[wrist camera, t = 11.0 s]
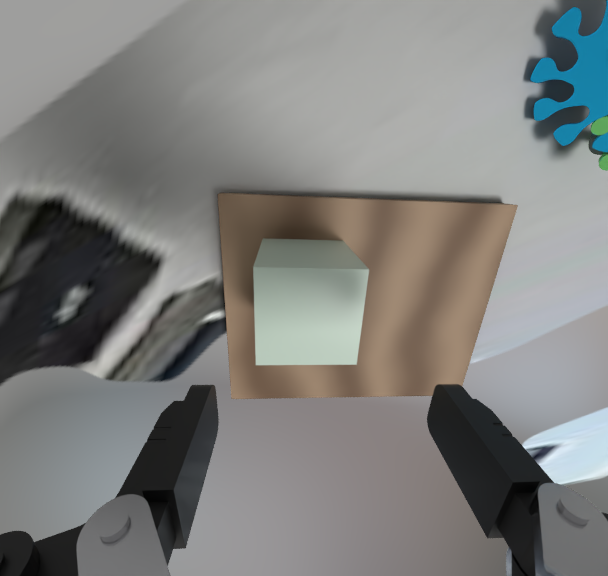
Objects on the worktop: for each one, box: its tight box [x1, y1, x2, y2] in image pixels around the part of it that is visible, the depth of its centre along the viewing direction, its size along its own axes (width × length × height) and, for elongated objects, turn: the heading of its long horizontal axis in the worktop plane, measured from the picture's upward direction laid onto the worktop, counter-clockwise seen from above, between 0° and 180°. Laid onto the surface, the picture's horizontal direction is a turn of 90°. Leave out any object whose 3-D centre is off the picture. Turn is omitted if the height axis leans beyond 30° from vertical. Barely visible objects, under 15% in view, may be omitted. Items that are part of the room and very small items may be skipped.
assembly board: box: [218, 193, 518, 399], centre depth 22 cm, size 22×18×6 cm
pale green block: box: [253, 238, 369, 365], centre depth 19 cm, size 6×6×7 cm
